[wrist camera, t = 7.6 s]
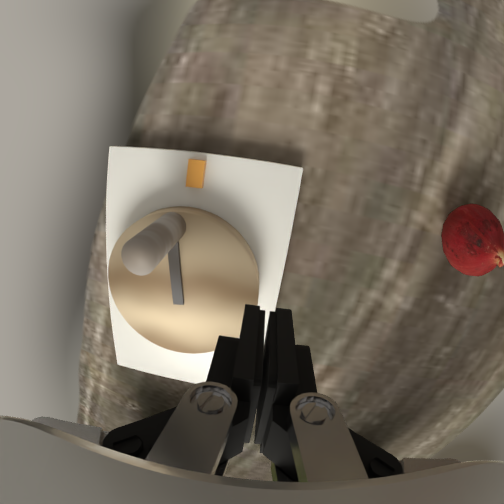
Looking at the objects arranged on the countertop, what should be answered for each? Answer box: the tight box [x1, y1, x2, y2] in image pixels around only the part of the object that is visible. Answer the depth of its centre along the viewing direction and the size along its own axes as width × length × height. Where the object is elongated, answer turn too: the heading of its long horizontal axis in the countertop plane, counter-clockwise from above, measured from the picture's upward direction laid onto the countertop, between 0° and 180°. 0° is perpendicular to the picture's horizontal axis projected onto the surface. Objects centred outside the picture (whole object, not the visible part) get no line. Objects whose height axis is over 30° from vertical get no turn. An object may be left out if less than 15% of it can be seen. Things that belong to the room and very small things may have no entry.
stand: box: [106, 146, 303, 384], centre depth 25 cm, size 22×15×2 cm
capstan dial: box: [108, 206, 259, 354], centre depth 20 cm, size 12×12×8 cm
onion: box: [441, 204, 504, 276], centre depth 19 cm, size 6×6×8 cm
